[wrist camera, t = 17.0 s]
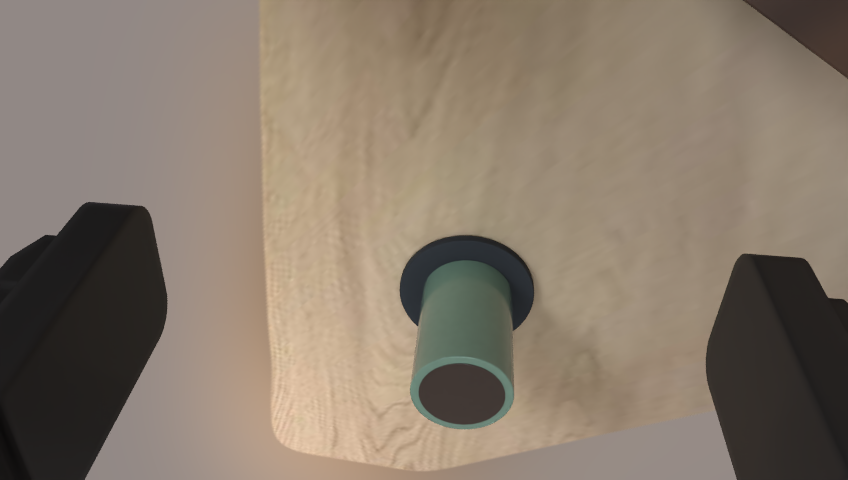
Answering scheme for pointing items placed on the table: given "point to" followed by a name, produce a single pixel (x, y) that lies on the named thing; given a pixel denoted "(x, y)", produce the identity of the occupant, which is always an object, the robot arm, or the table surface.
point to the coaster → (467, 250)
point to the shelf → (812, 26)
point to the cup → (464, 347)
